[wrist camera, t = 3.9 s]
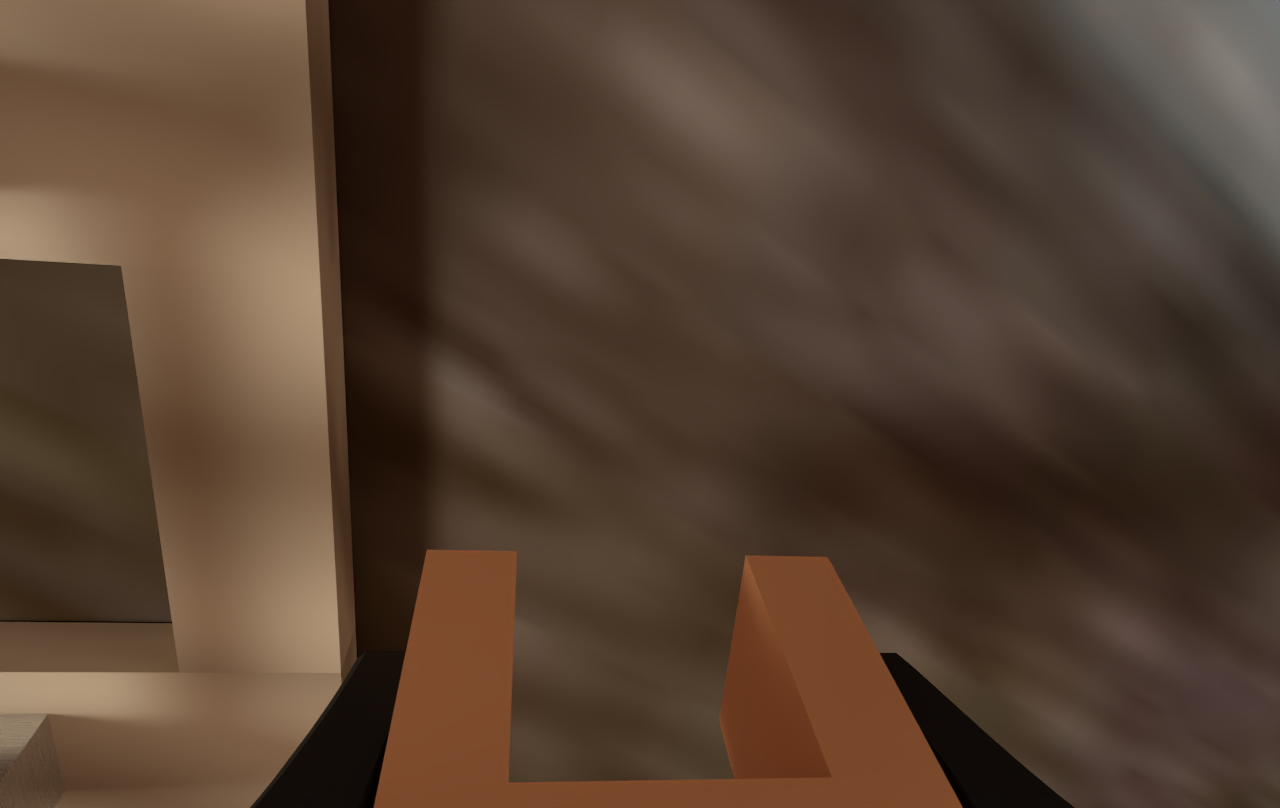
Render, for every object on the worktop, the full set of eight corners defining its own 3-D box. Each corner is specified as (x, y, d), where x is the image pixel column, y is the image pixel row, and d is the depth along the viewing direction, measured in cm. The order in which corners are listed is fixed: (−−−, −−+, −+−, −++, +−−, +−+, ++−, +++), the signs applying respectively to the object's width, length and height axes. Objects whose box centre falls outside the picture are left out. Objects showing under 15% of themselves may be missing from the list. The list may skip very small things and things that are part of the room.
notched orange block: (794, 719, 14) (929, 1086, 9) (427, 722, 13) (365, 1124, 8) (827, 556, 13) (1002, 881, 8) (426, 549, 12) (354, 902, 7)
